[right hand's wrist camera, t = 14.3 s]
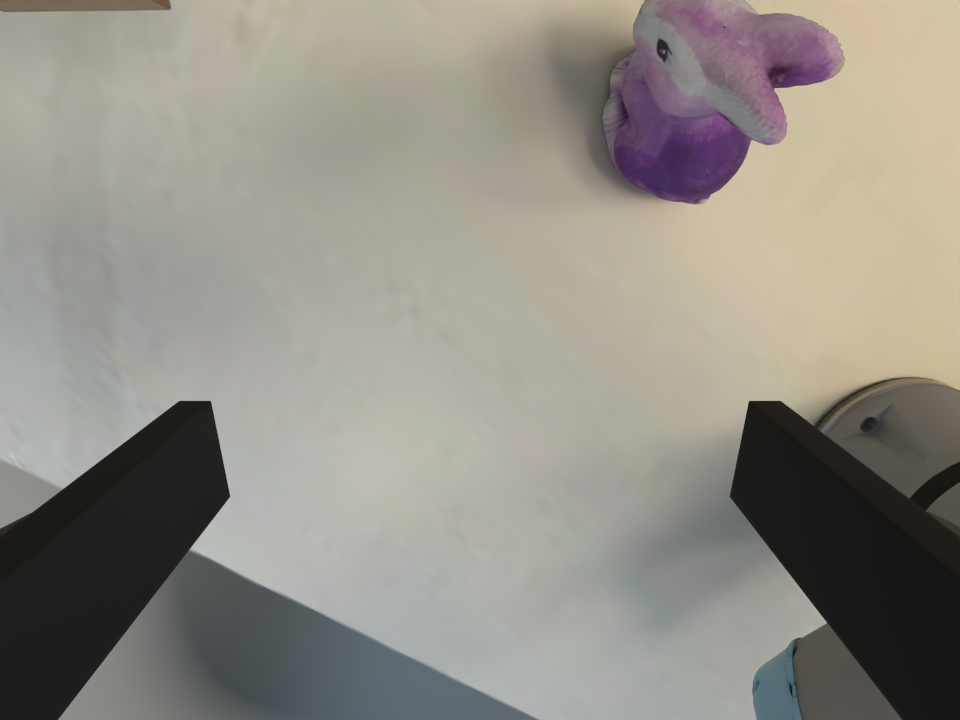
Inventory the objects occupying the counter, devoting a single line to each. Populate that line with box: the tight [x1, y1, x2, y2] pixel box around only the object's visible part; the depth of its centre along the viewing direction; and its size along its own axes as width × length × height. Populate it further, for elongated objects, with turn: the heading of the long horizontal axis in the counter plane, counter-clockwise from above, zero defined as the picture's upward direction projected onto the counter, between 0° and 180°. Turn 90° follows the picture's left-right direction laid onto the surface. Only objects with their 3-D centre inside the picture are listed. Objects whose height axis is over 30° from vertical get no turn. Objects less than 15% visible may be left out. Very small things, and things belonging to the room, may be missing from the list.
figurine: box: [602, 0, 845, 204], centre depth 28 cm, size 9×10×15 cm
